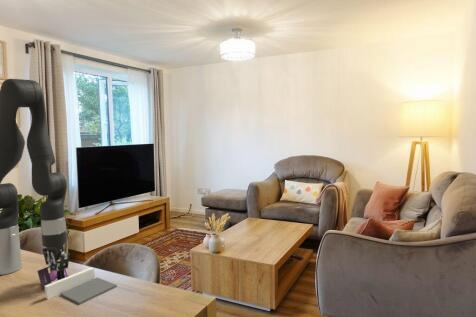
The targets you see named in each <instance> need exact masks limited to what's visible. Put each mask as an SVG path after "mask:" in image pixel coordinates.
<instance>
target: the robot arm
mask: <svg viewBox="0 0 476 317" xmlns="http://www.w3.org/2000/svg"><path fill="white" fill-rule="evenodd" d="M45 102H46V101H45V96H44V91H43V89H42V86H41V85H40V83H39V82H38V81H36V80H32V79H22V78H21V79H19V78H7V79H5V80H3V82H2V83H1V86H0V210H1V211H0V276H3V275H4V276H5V275H9V274H11V273H12V274H13V273H15V272H17V271H20V269H22V266H23V265H22V253H21V252H22V251H21V241H20V240H21V239H20V230H19V213H20V212H19V194H18V190H17V187H16V185H15V184H13V183H10V182H6V183H2V182H3V180H4V178H5V177H6V176H7V175H8V174H9V173H10V172H11V171H12V170H13V169H14V168H16V166H17V165H19V163H20V162H21V159H22V157H23V155H24V149H25V145H26V149H27V152H28V156H29V160H30V162H31V185H32V188H33V190H34V192H36V194H37V195H39V196H42V197H44V196H47V197H46V200H44V201H43V202H42V203H41V204H40V206H39V207H40V208H39V209H40V219H41V220H40V231H41V234H40V235H41V245H42V253H43V257H44V260H45V261H44V262H45V265H46V266H47V267H49V266H51V265H54V264H55V265H56V267H55V269H53V270H57V279H56V281H58V280H61V279H63V278H65V274H64V269H68V268H69V262H70V256H71V255H70V252H65V247H64V245H65V244H66V243H67V242H68V235H67V234H68V233H67V223H66V218H65V210H64V209H65V207H64V206H65V205H64V202H65V200H66V194H67V188H68V187H67V186H68V185H67V184H68V183H67V179H66V177H65V176H64V174H62V173H61V172H56V171H55V172H51V166H53V165H54V164H55V163H56V158H55V155H54V150H53V147H52V144H51V141H50V135H49V130H48V120H47V111H46V110H47V109H46V103H45ZM19 108H28V109H29V111H30V115H31V123H30V128H29V131H28V134H27V138H26V141H25V137H24V135H23V133H22V131H21V129H20V127H19V126H18V124H17V114H18V110H19ZM59 264H60V265H59ZM55 265H54V266H55ZM48 269H49V273H50V272H51V271H53V270H52V269H51V267H49V268H48Z"/></svg>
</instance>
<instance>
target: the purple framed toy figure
mask: <svg viewBox="0 0 476 317" xmlns="http://www.w3.org/2000/svg"><path fill="white" fill-rule="evenodd" d="M54 265H55V264H54ZM54 265H51V266H46V267H43V268H42V269H39V270H37V274H38V278H39V279H38V280H39V281H40V286H41V290H42V291H45V285H48V284H51V283H53V282H55V281H57V270H53V269H55V267H56V265H55V266H54ZM59 265H60V263H59ZM49 267H51V269H52V270H53V271H51V272H50V270H49V269H50V268H49ZM66 269H67V268H66ZM66 269H64V274H65V278H66V277H68V273H67V270H66Z"/></svg>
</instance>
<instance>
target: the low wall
mask: <svg viewBox="0 0 476 317" xmlns="http://www.w3.org/2000/svg"><path fill="white" fill-rule="evenodd" d="M95 275H96V274H95V268H94V267H92V266H91V267H89V268H86V269H84V270H81V271H79V272H75V273H74V274H71V275H69V276H68V275H67V276H68V277H66V278H63V279H61V280H55V281H52V283H51V284H48V285H45V290H44V295H45V299H47V300H50V299H52V298H55V297H57V296H59V295H60V293H62V292H64V291H67V290H69V289H71V288H74V287H76V286H78V285H81V284H83V283H86V282H88V281H90V280H93V279H95V278H96V277H95Z"/></svg>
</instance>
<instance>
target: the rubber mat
mask: <svg viewBox="0 0 476 317" xmlns="http://www.w3.org/2000/svg"><path fill="white" fill-rule="evenodd" d="M117 285H118V284H115V283H112V282H110V281H107V280H105V279H102V278H99V277H95V279H93V280H90V281H88V282H86V283H83V284H81V285H78V286H76V287H74V288H71V289H69V290H67V291H64V292H62V293H60V294H59V295H60V296H62V297H63V298H66V299H67V300H70V301H72V302H74V303H76V304H77V305H81V304H83V303H86V302H88V301H89V300H90V301H91V300H93V299H94V298H96V297H98V296H101V295H102V294H105V293H107V292H109V291H111V290H113V289H115V288H117Z"/></svg>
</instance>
